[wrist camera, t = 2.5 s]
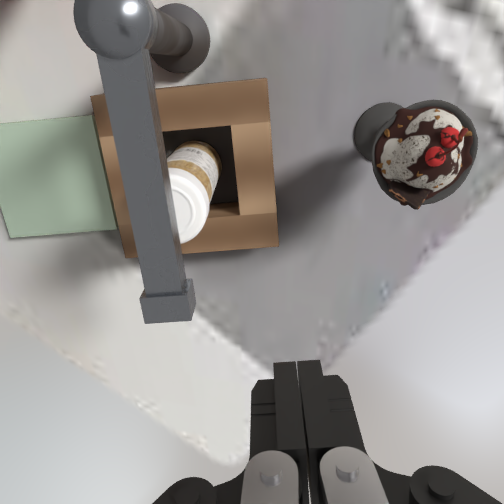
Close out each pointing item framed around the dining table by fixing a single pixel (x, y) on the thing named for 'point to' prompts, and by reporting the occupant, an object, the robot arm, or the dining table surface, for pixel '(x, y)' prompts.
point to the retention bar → (140, 148)
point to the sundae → (418, 149)
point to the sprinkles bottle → (193, 185)
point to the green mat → (54, 178)
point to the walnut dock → (202, 116)
